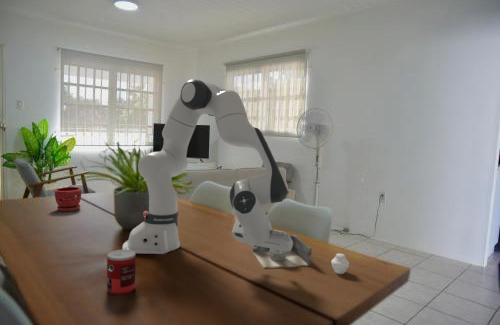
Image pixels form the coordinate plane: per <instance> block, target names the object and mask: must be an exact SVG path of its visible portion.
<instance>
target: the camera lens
mask: <svg viewBox="0 0 500 325" xmlns="http://www.w3.org/2000/svg"><path fill="white" fill-rule="evenodd" d="M285 257H286V251H283V252H282V254H280V253H278V252H277V249H272V248H270V259H271V260H274V261H284V260H285Z"/></svg>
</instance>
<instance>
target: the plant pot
mask: <svg viewBox="0 0 500 325" xmlns="http://www.w3.org/2000/svg"><path fill="white" fill-rule="evenodd" d="M54 199H55V202H56V204H57V207H56V209H57V210H58V211H61V212H72V211H77V210H79V209H80V208H81V204H80V202H81V199H82V188H81V187H79V186H78V187H77V186H65V187H64V186H63V187H59V188H55V189H54Z"/></svg>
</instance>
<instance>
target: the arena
mask: <svg viewBox="0 0 500 325" xmlns="http://www.w3.org/2000/svg"><path fill="white" fill-rule="evenodd" d="M289 236H290V237H291V239H292V241H293V246H292V249H291V251H289V252H287V251H286V257H285V260H284V261H274V260H271V259H270V248H267V247H262V246H258V247H257V249H255V248H253V247H252V254H253V256H254V257H255V258H256V260H257V261H258V263H259V264H260V265H261V267H262V269H264V270H265V269H278V268H297V267H311V266H312V264H311V263H312V250H313V249H312V248H311V247H310V245H309V244H307V243H306V242H304V241H303V240H302V239H301V238H299V237H298V236H297V235H295V234H293V235H290V234H289Z"/></svg>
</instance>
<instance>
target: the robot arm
mask: <svg viewBox="0 0 500 325" xmlns="http://www.w3.org/2000/svg"><path fill="white" fill-rule="evenodd" d="M203 115H208V116H209V117H210V116H211V117H215V118H214V120H215V125H216V129H217V132H218V135H219V137H220V139H221V140H222V141H224V143H226V144H227V145H230V146H233V147H240V148H241V147H242V148H250V149H253V150H255V151H257V154H259V157H260V159H261V161H262V163H263V165H264V167H265V170H266V172H264V173H263V174H259V175H255V176H251V177H248V178H243V179H239V180H237V181H235V182H234V183H233V184H232V185H231V188H230V191H229V200H230V205H231V207H232V210H233V213H234V215H235V218H236V220H235V223H234V224H233V227H232V231H231V234H232V235H233V238H234V240H235V241H237V242H238V243H241V244H248V245H249V246H251V247H252V249H253V248H255V249H257V247H258V246H262V247H267V248H272V249H277V252H278V253H280V254H282V252H283V251H287V252H289V251H291V249H292V246H293V241H292V239H291V237H290V236H289V235H290V234H289V233H288V232H285V231H283V230H277V229H273V227H272V224H271V222H270V219H269V218H268V215H267V214H266V210H265V208H264V206H265V205H269V204H275V203H281V202H283V201H284V200H285V198H286V197H287V196H288V193H289V185H288V182H287V180H286V177H285V176H284V175H283V173H282V172H281V170H280V168H279V167H278V165H277V162H276V159H275V157H274V155H273V153H272V151H271V149H270V147H269V144H268V142H267V141H266V139H265V136H264V135H263V132H262V131H261V130H260V129H259V128H258V127H256V126H255V127H254V126H253V125H252V124H251V123H250V121H249V118H248V115H247V111H246V108H245V105H244V103H243V101H242V98H241V96H240V94H239V93H238V92H236V91H234V90H231V89H227V90H226V89H224V88H221V87H220V86H218V85H216V84H213V83H208V82H204V81H202V80H199V79H189V80H187V81H185V83H184V84H183V85H182V87H181V90H180V94H179V96H178V97H177V99H176V100H175V102H174V104H173V106H172V108H171V110H170V113H169V114H168V117H167V119H166V122H165V125H164V127H163V129H162V132H161V135H162V136H161V137H162V138H163V145H162V148H161V150H160V151H152V152H149V153H147V154H145V155H143V156H142V157H140V159H139V160H138V164H137V170H138V173H139V175H140V176H141V177H142V178H143V179H144V180H145V183H146V186H147V190H148V207H149V208H148V211H147V210H145V211H143V214H142V216H143V221H142V222H141V223H140V224H138V225H137V226H136V227H134V228H133V229H132V230H131V231H130V232H129V237H128V240H125V242H124V243H123V244H122V248H121V250H122V249H126V250H132V251H134V252H135V254H144V255H145V254H150V255H151V254H152V255H153V254H154V255H155V254H156V255H165V254H167V253H168V252H171V251H175V250H177V249H179V248H180V247H181V242H180V238H179V230H178V225H179V212H178V196H179V195H178V192H177V191H176V190H175V187H174V185H173V181H172V178H174V177H177V176H179V175H181V174H182V173H184V172H185V171H186V169H187V168H188V159H187V154H188V147H189V144H190V141H191V140H192V136H193V134H194V132H195V130H196V127H197V124H198V122H199V119H200V118H201V116H203Z"/></svg>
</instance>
